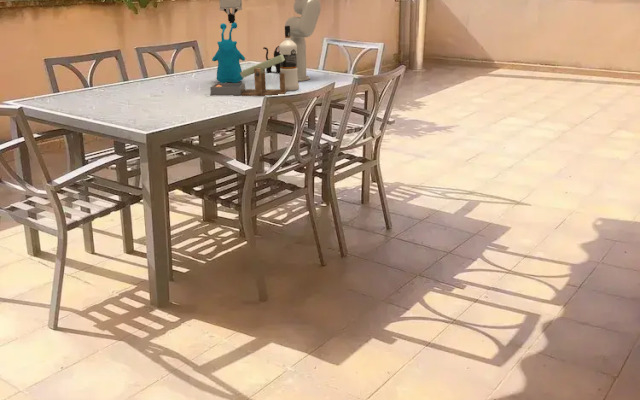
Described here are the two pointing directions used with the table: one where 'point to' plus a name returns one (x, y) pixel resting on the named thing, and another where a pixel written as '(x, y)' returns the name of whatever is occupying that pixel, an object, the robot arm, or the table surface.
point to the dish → (228, 89)
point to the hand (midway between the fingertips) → (231, 22)
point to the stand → (264, 85)
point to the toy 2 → (276, 53)
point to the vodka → (289, 61)
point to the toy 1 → (228, 58)
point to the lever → (263, 65)
